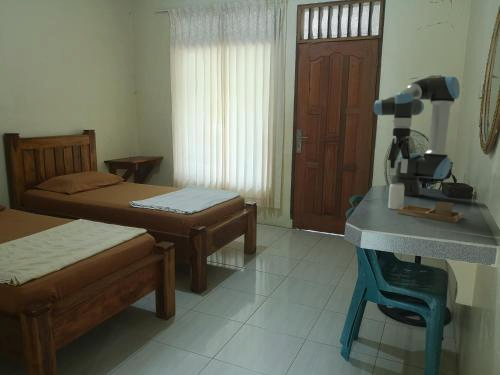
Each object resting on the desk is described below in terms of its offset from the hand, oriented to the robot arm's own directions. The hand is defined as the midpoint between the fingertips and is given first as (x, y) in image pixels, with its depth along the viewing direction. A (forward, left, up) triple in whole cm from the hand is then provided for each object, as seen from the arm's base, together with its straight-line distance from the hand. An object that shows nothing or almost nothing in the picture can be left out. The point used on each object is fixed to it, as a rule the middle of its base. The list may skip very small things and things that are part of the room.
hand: (398, 174), depth 179 cm
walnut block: (+6, +23, -16) cm, 28 cm away
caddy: (+6, +17, -16) cm, 24 cm away
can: (0, 0, -17) cm, 17 cm away
